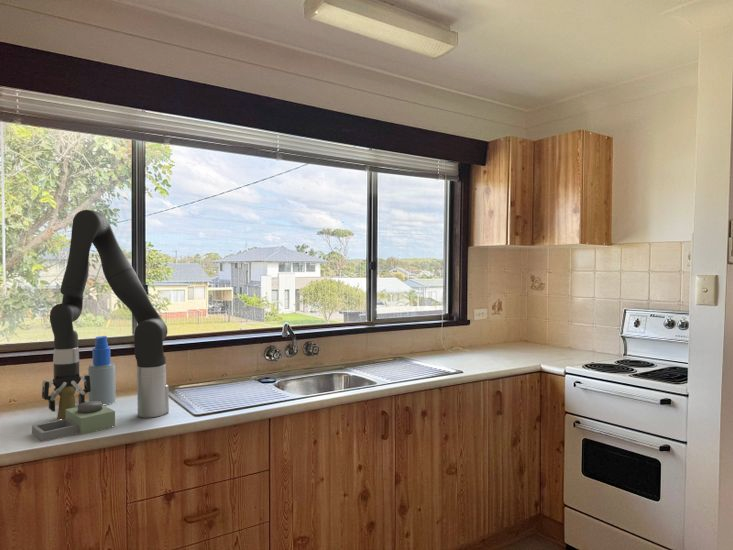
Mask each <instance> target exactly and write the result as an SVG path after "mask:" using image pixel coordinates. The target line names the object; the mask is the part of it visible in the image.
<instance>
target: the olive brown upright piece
mask: <svg viewBox="0 0 733 550" xmlns="http://www.w3.org/2000/svg"><path fill="white" fill-rule="evenodd" d="M76 392H77V391H76V388H75V387H74V386H66V387H64V388H63V389H62V391H61V392H60V393H59V395H58V396H59V402H58V409H57V410H58V411H57V419H56V420H58V419H66V411H65V409H70V408H75V407H77V405H76V399H75V393H76Z"/></svg>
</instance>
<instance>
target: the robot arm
mask: <svg viewBox="0 0 733 550" xmlns="http://www.w3.org/2000/svg"><path fill="white" fill-rule="evenodd" d="M70 235H71V236H70V237H71V238H70V244H69V245H70V246H69V251H68V256H67V257H68V258H67V263H66V267H65V270H64V275H63V278H62V281H61V285H60V290H59V291H60V292H59V293H61V294H62V301H61V303H57V304H55V305H54V306H52V307H51V309H50V312H49V321H50V326H51V331H52V334H53V338H54V339H53V348H54V349H53V357H52V358H53V359H52V362H53V378H52V380H43V381H42V390H41V393H42V394H41V399H43V400H46V401H48V409H49V410H50V411H51V412H56V398H57V396H60V395H59V393H60V392H61V391H62V389H63V388H64V387H66V386H74V387H75V388H76V391H75V392H77V393H78V396H77V399H78V405H79V404H81V403H84V402H85V395H86V394H87V393H88V394H89V392H90V391H91V387H90V376H88V374H83V375H82V376H80V352H79V335H78V334H79V333H78V332H77V331H76V330H74V324H73V322H76V321H77V320H78V319H79V318H80V317H81V314H82V311H83V305H84V292H85V289H86V286H87V282H88V278H89V271H90V270H89V269H90V268H89V267H90V264H89V263H90V251H91V247H92V244H93V246H94V248H95V250H96V251H97V253H98V255H99V258H100V263H101V269H102V272H103V275H104V277H105V281H106V282H107V283H108V285H109V287H110V289H111V290H112V292H113V294H114V295H115V296H116V297H117V298H118V300H119V301H121V303H122V304H124V306H125V307H126V308H127V309H128V310H129V311H130V312H131V314H132V315H133V317H134V319H135V320H136V322H137V323H136V324H137V326H136V327H135V329H134V333H133V334H134V337H133V340H134V341H133V342H134V357H135V359H136V370H137V371H136V374H137V375H136V377H137V378H136V381H137V386H136V388H137V391H136V392H137V398H136V399H137V409H136V410H137V417H140V418H144V419H145V418H156V417H160V416H163V415H165V414H167V413H169V412H170V411H169V410H170V407H169V406H170V404H169V401H170V400H169V399H170V398H169V397H170V396H169V385H168V384H167V370H166V369H167V368H166V367H167V359H166V357H167V356H165V353H164V340H165V339H166V338H167V335H168V326H167V324H166V322H165V321H164V320H163V318H162V317H161V315H160V314H159V313H158V311H157V310H156V308H155V307H154V305H153V304H152V301H151V300H150V298H149V295H148V294H147V291H146V290H145V287H144V286H143V284H142V282H141V281H140V279H139V277H138V275H137V273H136V270H135V268H133V266H132V264H131V262H130V261H129V259H128V258H127V255H126V254H125V253H124V250H123V249H122V248H121V246H120V245H119V243H118V241H117V237H116V236H115V234H114V232H113V229H112V226H111V224H110V221H109V219H108V218H107V216H106V215H104V214H103V213H101V212H99V211H95V210H92V209H82V210H80V211H78V212H77V213H76V214H75V215H74V217H73V219H72V225H71V234H70ZM81 381H82V382H83V389H82V387H80V385H79V383H80V382H81ZM52 386H54V388H53V389H52V390H51V392H49V391H50V388H51V387H52Z"/></svg>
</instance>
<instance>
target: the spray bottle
mask: <svg viewBox="0 0 733 550" xmlns="http://www.w3.org/2000/svg"><path fill="white" fill-rule="evenodd" d="M87 372H88V374H87V375H88V376H90V387H91V391H90V392H88V402H90V401H100V402H102V405H103V404H108V405H110V404H109V403H112V404H114V403H116V401H115V400H117V399H116V365H115V362H111V347H109V343H108V336H107V335H102V336H96V337H95V344H94V347H93V348H92V363H91V364H89V365H88V369H87ZM113 402H114V403H113ZM103 406H104V405H103Z"/></svg>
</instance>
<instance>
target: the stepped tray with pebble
mask: <svg viewBox="0 0 733 550" xmlns="http://www.w3.org/2000/svg"><path fill="white" fill-rule="evenodd" d="M65 411H66V419H62V420H58V419H56V420H52V421H48V422H44V423H39V424H35V425H33V424H32V425H31V435H33V436H34V437H35V438H37V439H38V440H39V439H40V440H39V441H41V442H46V441H50V440H51V441H52V440H55V439H59V437H60V438H63V436H64V437H67V436H71V435H76V433H77V434H81V435H85V434H88V433H89V432H90V433H93V431H94V432H96V430H98V431H101V430H100V429H102V430H105V429H104V428H106V429H109V428H108V427H111V428H113V427H112V426H115V427H116V410H114V409H111V408H109V407H107V405H102V402H100V401H90V402H89V401H86V402H84V403H81V404H79V403H78V404H77V406H76V407H75V408H70V409H65ZM84 433H85V434H84Z"/></svg>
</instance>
